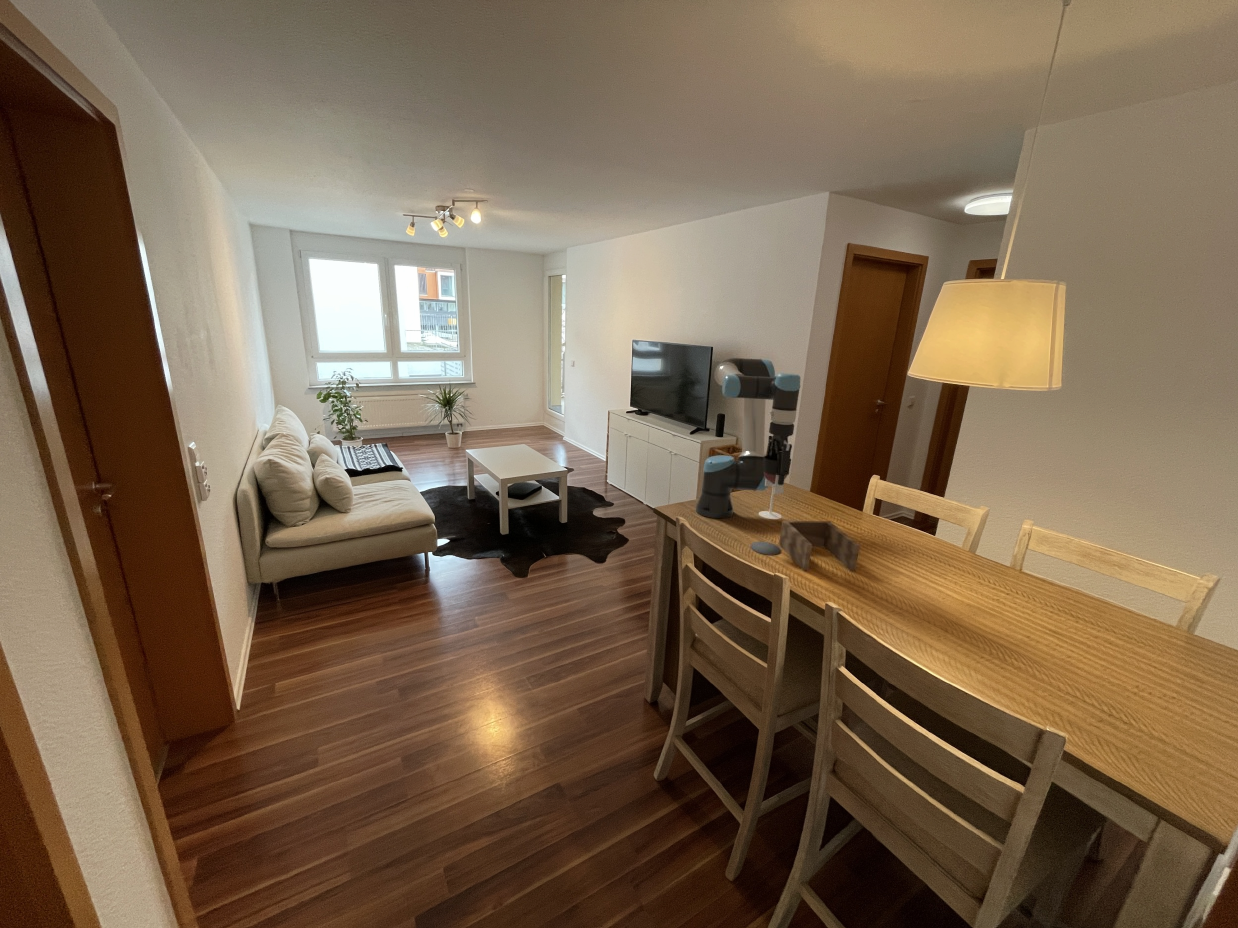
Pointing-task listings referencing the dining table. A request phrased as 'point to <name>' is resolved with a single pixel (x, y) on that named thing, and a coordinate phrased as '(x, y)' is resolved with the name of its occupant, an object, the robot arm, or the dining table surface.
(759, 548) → the felt coaster
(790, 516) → the dining table surface
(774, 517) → the wineglass
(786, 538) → the walnut u-shaped bracket
